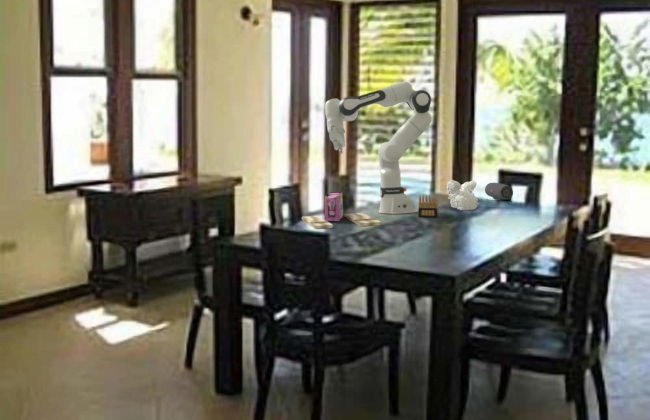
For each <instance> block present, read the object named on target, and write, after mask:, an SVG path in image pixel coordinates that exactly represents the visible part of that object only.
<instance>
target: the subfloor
mask: <svg viewBox="0 0 650 420" xmlns="http://www.w3.org/2000/svg"><path fill="white" fill-rule="evenodd" d="M345 217H346V218H347V220H348V219H349V220H348V221H350V222H352V223H354V224H356V225H358V226H359V227H370V226H382V225H383V222H382V221H381V220H378V219H377V218H374V217H373V216H370V215H368V214H366V213H364V212H363V213H362V212H360V213H359V212H358V213H343V218H345ZM346 218H345V219H346ZM301 220H302V221H303V222H305V223H306V224H308V225H309V226H310V227H312V228H313V229H315V230H319V229H320V230H321V229H323V230H324V229H333V228H334V224H332V222H328V221H326V220H325V218H323V217H321V216H319V215H310V216H309V215H308V216H306V215H305V216H301Z"/></svg>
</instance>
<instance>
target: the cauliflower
mask: <svg viewBox="0 0 650 420" xmlns="http://www.w3.org/2000/svg"><path fill="white" fill-rule="evenodd" d="M477 185H478V183H477V182H476V181H475V180H470V181H466V182H464V183H463V184H461V183H460V182H459V181H456V180H454V179H450V180H449V181H447V183H446V190H447V195H448V196H447V199H448V200H450V202H449V204H450V205H451V208H454V209H457V210H460V211H472V210H476V209H477V207H478V205H479V202H478V201H479V199H478V198H477V197H476V195H475V193H474V192H473V193H472V191H474V190H475V189H476V187H477Z"/></svg>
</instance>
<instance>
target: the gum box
mask: <svg viewBox="0 0 650 420" xmlns="http://www.w3.org/2000/svg"><path fill="white" fill-rule="evenodd" d="M342 216H343V217H344V206H343V192H342V191H332V192H331V191H329V192H327V193H326V195H324V220H326V221H339V222H340V221H341V220H342V219H343V217H342ZM341 218H342V219H341ZM340 219H341V220H340Z"/></svg>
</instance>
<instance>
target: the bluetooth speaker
mask: <svg viewBox="0 0 650 420" xmlns="http://www.w3.org/2000/svg"><path fill="white" fill-rule="evenodd" d="M484 193H485V194H486V195H487V196H489V197H491V198H492V199H493V200H496V201H505V200H509V199H511V198H513V195H514V191H513V188H512V187H511V186H510V185H507V184H504V183H500V182H489V183H487V184H486V186H485V187H484Z"/></svg>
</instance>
